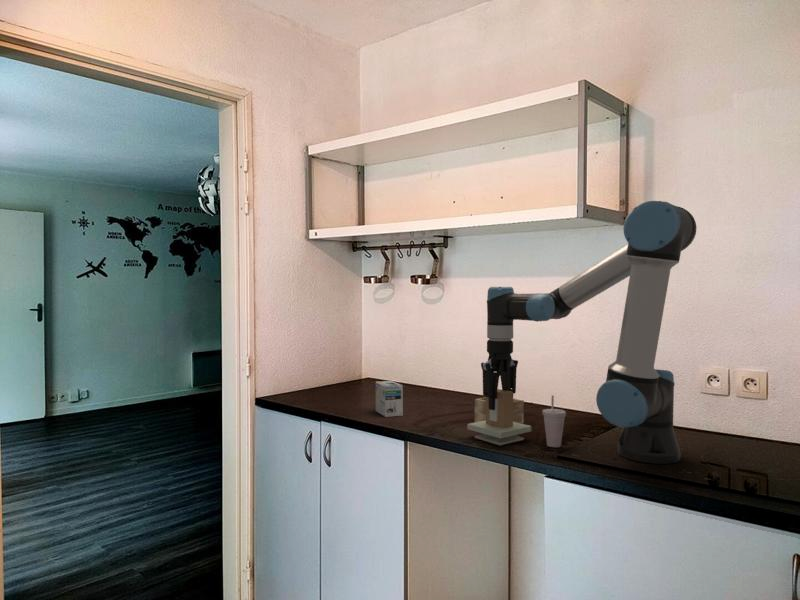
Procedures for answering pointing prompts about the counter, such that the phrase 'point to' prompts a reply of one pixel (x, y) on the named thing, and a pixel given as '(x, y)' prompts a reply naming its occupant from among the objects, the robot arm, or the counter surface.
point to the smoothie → (554, 425)
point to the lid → (500, 419)
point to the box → (481, 410)
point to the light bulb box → (389, 398)
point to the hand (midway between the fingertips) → (499, 419)
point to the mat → (499, 439)
